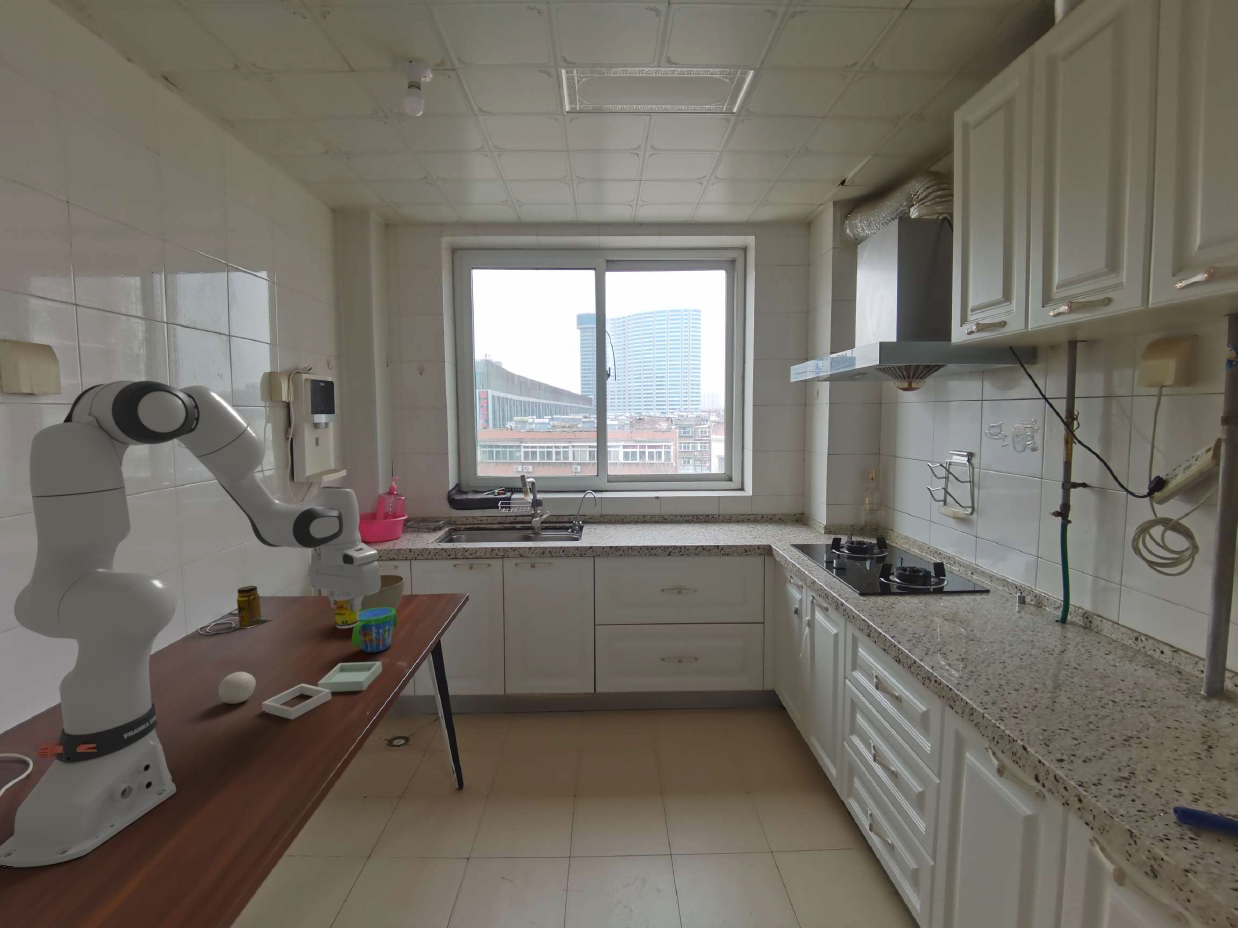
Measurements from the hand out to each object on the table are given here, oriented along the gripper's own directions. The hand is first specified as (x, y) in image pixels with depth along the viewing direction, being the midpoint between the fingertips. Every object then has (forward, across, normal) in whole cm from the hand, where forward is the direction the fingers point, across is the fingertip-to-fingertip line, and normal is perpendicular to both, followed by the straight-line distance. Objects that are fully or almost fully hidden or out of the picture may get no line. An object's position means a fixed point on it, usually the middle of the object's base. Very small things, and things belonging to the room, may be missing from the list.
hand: (346, 608), depth 136 cm
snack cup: (+18, -10, +17) cm, 27 cm away
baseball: (+18, -16, -17) cm, 30 cm away
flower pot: (+19, -29, +34) cm, 49 cm away
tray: (+18, 0, 0) cm, 18 cm away
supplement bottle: (+4, 0, 0) cm, 4 cm away
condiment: (+19, -66, +19) cm, 71 cm away
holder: (+18, -2, -13) cm, 22 cm away
